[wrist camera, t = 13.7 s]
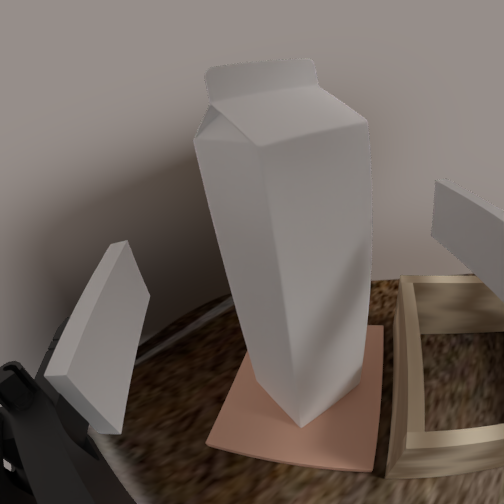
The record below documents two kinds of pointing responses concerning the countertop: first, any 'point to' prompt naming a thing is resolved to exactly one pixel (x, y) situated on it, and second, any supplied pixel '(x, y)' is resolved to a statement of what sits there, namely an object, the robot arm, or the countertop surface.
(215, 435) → the mat
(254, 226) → the milk
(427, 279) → the holder
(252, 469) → the countertop surface
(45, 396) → the robot arm
